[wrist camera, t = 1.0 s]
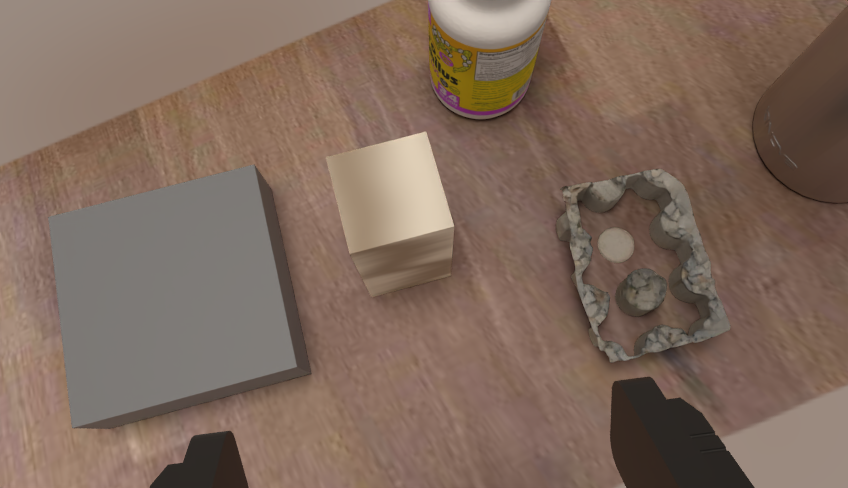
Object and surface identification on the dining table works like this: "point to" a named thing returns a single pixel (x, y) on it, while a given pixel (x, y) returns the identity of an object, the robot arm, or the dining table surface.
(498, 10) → the supplement bottle
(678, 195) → the egg carton
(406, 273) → the cream block
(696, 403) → the dining table surface
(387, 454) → the dining table surface
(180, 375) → the plinth
